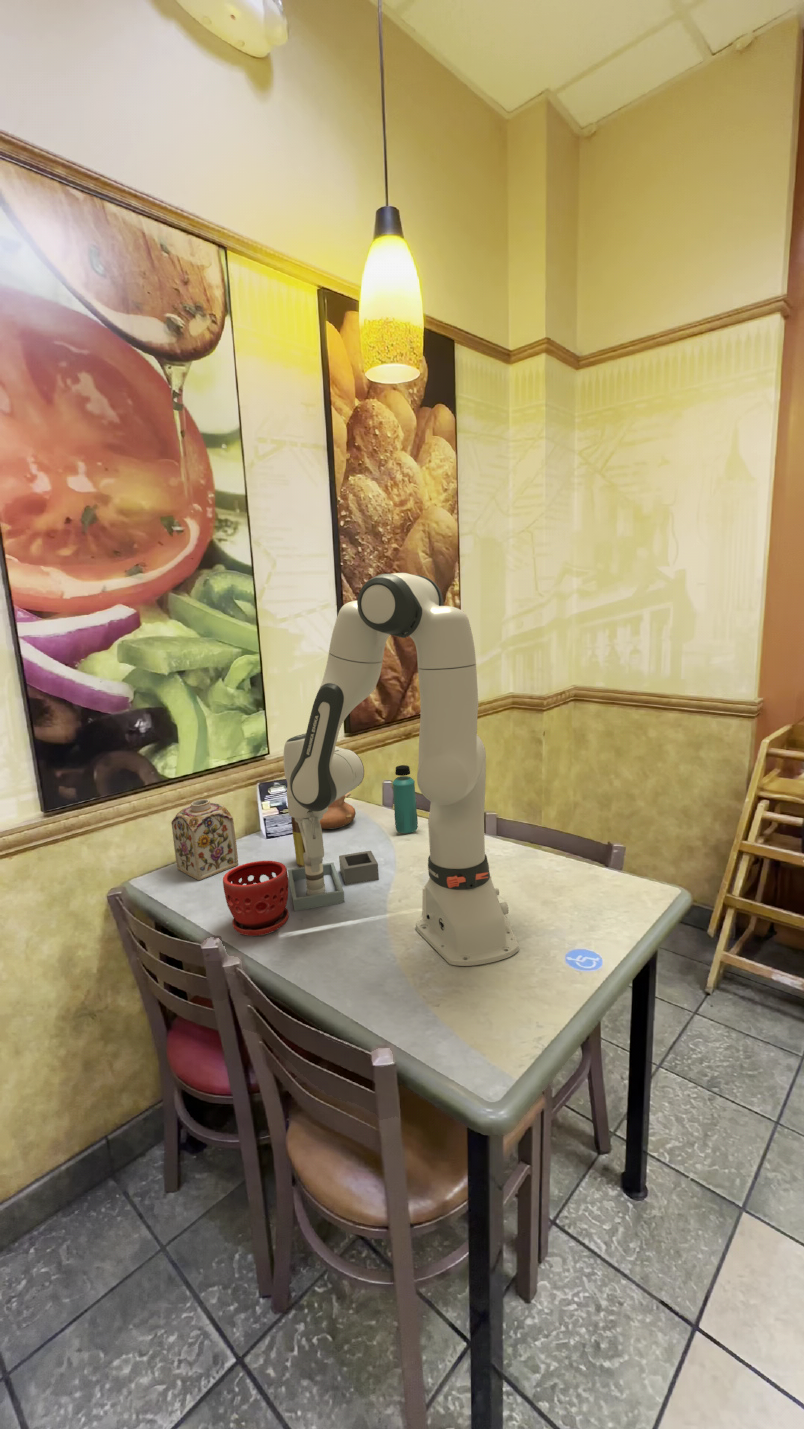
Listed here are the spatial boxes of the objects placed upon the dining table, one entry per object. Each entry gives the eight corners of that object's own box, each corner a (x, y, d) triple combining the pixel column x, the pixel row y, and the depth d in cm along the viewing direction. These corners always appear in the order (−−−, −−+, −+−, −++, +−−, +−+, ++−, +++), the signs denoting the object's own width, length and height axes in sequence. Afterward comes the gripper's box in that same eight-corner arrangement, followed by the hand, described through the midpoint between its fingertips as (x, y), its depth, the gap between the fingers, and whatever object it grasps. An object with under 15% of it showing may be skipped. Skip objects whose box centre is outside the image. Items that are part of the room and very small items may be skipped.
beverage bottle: (422, 835, 171) (418, 767, 167) (400, 840, 169) (395, 770, 165) (413, 828, 177) (409, 761, 173) (391, 832, 175) (387, 765, 171)
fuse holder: (379, 883, 144) (377, 863, 143) (345, 889, 142) (344, 869, 141) (372, 869, 151) (370, 850, 151) (340, 874, 150) (338, 855, 149)
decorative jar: (240, 865, 158) (232, 799, 155) (198, 882, 150) (189, 813, 147) (216, 854, 167) (208, 791, 163) (176, 869, 158) (167, 803, 155)
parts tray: (345, 906, 134) (343, 891, 133) (294, 915, 131) (293, 900, 131) (334, 875, 149) (333, 862, 149) (289, 883, 147) (287, 869, 146)
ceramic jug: (369, 822, 184) (365, 776, 181) (333, 837, 173) (329, 789, 171) (329, 812, 196) (325, 769, 193) (293, 826, 185) (289, 780, 183)
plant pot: (303, 913, 132) (298, 861, 130) (268, 946, 120) (262, 889, 118) (253, 905, 137) (247, 855, 135) (215, 935, 125) (208, 881, 123)
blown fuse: (326, 896, 137) (323, 855, 135) (308, 900, 136) (304, 858, 134) (324, 888, 141) (320, 848, 139) (306, 891, 140) (302, 851, 138)
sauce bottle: (323, 860, 158) (317, 787, 155) (318, 871, 152) (311, 795, 148) (299, 861, 159) (292, 788, 155) (292, 871, 153) (285, 796, 149)
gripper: (328, 817, 127) (333, 879, 130) (316, 789, 147) (321, 843, 149) (297, 822, 126) (303, 884, 128) (290, 793, 145) (295, 847, 148)
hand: (313, 862), depth 139 cm, fingers open, 8 cm apart
